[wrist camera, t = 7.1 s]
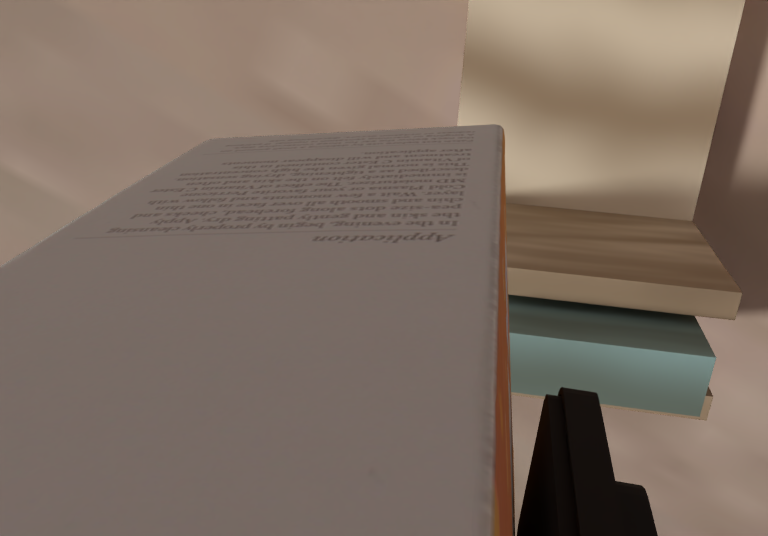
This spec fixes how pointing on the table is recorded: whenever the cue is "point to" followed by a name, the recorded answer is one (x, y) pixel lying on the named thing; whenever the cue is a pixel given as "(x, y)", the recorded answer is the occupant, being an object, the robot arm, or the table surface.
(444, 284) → the small box
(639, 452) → the table surface
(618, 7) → the book rack
